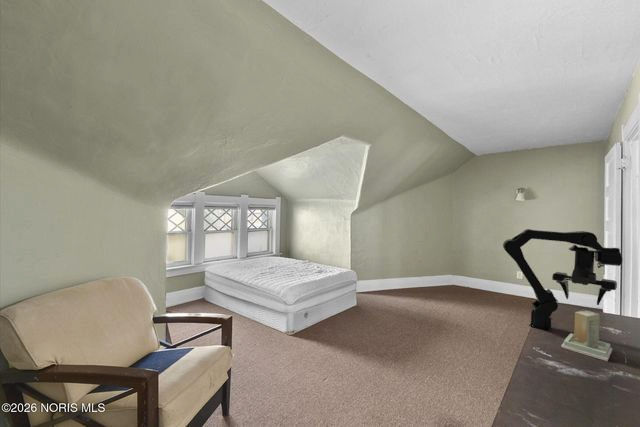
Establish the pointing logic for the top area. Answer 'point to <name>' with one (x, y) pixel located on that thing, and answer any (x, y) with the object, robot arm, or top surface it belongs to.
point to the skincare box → (586, 329)
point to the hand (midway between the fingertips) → (582, 301)
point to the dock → (600, 352)
